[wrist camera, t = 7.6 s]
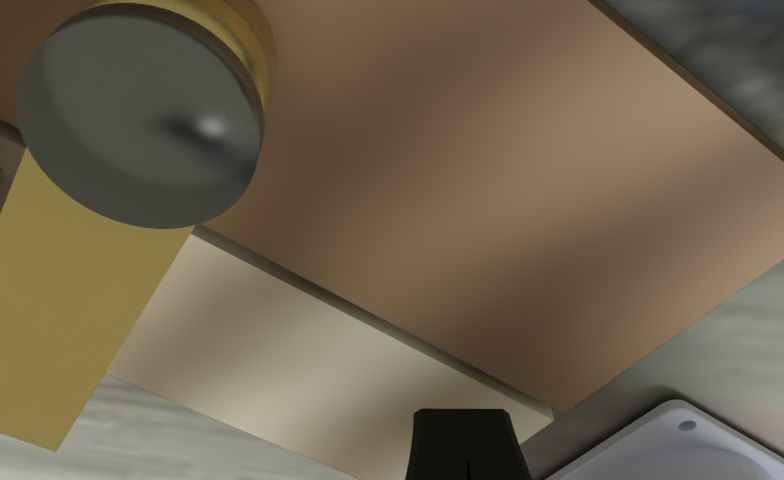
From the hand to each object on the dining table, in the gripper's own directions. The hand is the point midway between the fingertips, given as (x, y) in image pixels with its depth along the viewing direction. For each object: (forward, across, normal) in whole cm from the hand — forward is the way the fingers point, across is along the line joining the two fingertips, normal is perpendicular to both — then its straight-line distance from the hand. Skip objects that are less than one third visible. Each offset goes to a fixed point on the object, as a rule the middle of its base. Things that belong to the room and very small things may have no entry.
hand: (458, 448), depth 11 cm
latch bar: (+6, +7, 0) cm, 9 cm away
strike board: (+8, +3, +1) cm, 8 cm away
